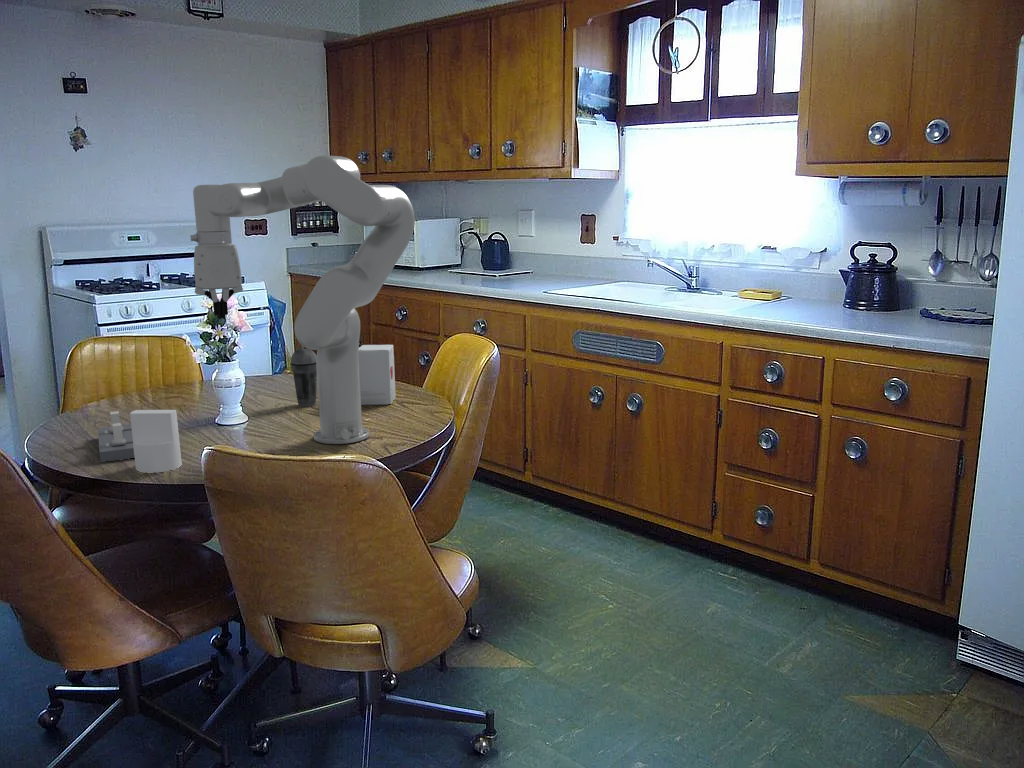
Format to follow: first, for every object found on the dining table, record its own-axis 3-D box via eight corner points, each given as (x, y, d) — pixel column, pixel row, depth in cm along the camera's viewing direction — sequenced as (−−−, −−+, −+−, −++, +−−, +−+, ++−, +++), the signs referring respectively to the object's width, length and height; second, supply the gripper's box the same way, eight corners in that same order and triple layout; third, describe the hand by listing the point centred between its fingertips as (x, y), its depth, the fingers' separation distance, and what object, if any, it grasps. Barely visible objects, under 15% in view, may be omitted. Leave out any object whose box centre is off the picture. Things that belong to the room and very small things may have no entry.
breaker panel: (180, 452, 197) (179, 441, 196) (100, 463, 190) (99, 451, 190) (171, 429, 216) (170, 419, 216) (99, 438, 210) (97, 427, 209)
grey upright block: (188, 460, 191) (183, 406, 189) (171, 473, 182) (165, 417, 180) (147, 460, 191) (141, 406, 189) (128, 474, 183) (121, 417, 180)
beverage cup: (324, 402, 242) (320, 329, 238) (316, 408, 235) (311, 333, 231) (298, 401, 243) (293, 329, 238) (289, 408, 236) (284, 333, 231)
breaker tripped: (123, 431, 205) (121, 413, 204) (110, 432, 204) (108, 415, 203) (122, 427, 209) (120, 410, 208) (109, 429, 207) (107, 411, 207)
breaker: (126, 444, 195) (124, 425, 194) (112, 445, 194) (110, 427, 193) (125, 440, 198) (123, 421, 197) (111, 441, 197) (109, 423, 196)
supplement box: (391, 405, 237) (389, 349, 234) (358, 405, 238) (355, 350, 234) (396, 397, 246) (394, 343, 243) (364, 397, 246) (361, 344, 243)
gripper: (181, 241, 199) (189, 322, 203) (250, 238, 206) (256, 317, 210) (178, 239, 206) (186, 318, 210) (245, 237, 212) (251, 314, 216)
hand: (221, 318), depth 210 cm, fingers closed
